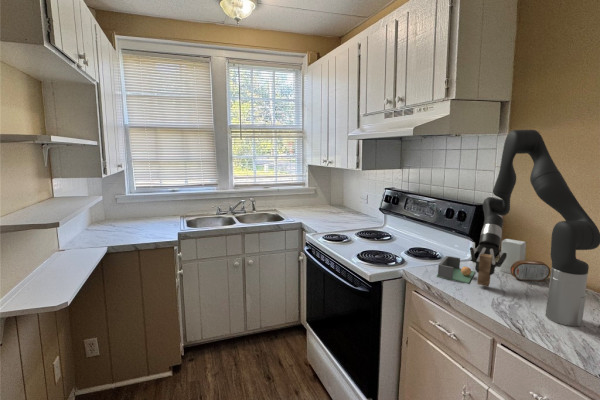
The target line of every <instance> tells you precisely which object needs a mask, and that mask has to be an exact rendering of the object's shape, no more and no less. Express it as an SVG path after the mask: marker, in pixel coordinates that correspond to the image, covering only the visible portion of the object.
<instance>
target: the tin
mask: <svg viewBox="0 0 600 400" xmlns="http://www.w3.org/2000/svg"><path fill="white" fill-rule="evenodd" d="M510 271H511V275H512V277H514V278H516V279H517V280H519V281H528V282H529V281H531V282H542V281H546V279H548V278H550V275H551V268H550V267H549V266H548V265H547V264H546V263H545V262H543V261H538V260H525V261H523V260H520V261H517V262H515V263H514V264H513V265H512V266H511V269H510Z"/></svg>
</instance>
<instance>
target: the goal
mask: <svg viewBox="0 0 600 400" xmlns="http://www.w3.org/2000/svg"><path fill="white" fill-rule="evenodd" d="M460 267H461V258H460V257H455V256H450V255H446V256H445V257H444V258H443V259H442V261H440V262H439V264H438V268H437V274H436V276H437V277H436V276H435V277H436V278H441V277H442V278H441V279H445V278H446V280H450V281H454V280H455V281H454V282H459V281H460V283H465V284H470V282H471V280H472V279H473V276H474V275H475V273H476V270H475V271H474V270H471V274H470V275H469V276H465V275H463V274H462V273H461V269H462V268H460Z"/></svg>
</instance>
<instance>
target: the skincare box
mask: <svg viewBox="0 0 600 400" xmlns="http://www.w3.org/2000/svg"><path fill="white" fill-rule="evenodd" d="M526 245H527V242H526V241H522V240H516V239H511V238H505V239H502V240H501V244H500V247H501V248H500V249H501V250H500V252H502V253H507V257H506V259H505V260H504V262H503V264H502V265H501V267H499V271H500V272H502V273H507V274H511V271H510V269H511V266H512V265H513V264H514V263H515V262H517V261H520V260H523V261H526V249H527V248H526ZM511 275H512V274H511Z"/></svg>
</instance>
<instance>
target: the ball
mask: <svg viewBox="0 0 600 400" xmlns="http://www.w3.org/2000/svg"><path fill="white" fill-rule="evenodd" d="M460 269H461V273H462V274H463V275H465V276H469V275H470V274H471V271H472V270H471V268H470V267H468V266H463V267H461V268H460Z"/></svg>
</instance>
